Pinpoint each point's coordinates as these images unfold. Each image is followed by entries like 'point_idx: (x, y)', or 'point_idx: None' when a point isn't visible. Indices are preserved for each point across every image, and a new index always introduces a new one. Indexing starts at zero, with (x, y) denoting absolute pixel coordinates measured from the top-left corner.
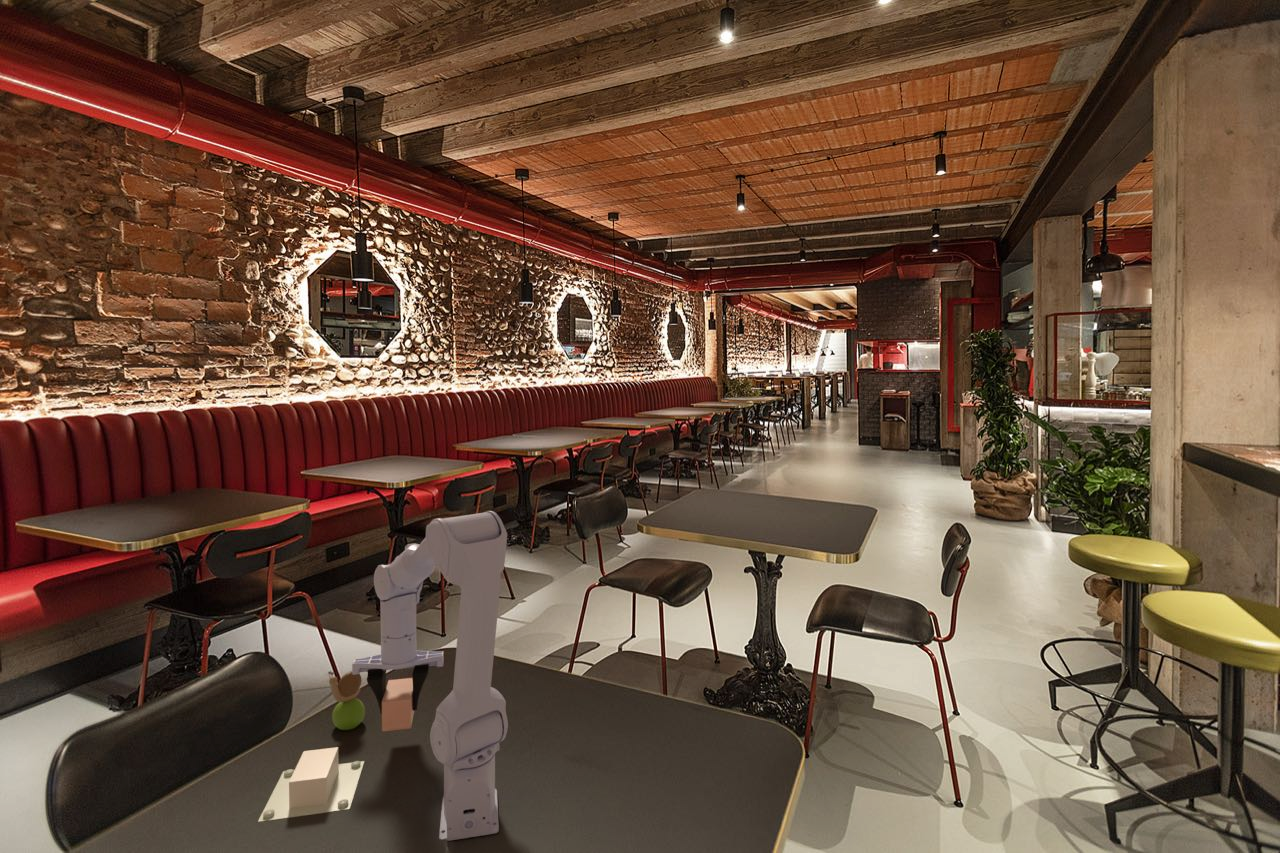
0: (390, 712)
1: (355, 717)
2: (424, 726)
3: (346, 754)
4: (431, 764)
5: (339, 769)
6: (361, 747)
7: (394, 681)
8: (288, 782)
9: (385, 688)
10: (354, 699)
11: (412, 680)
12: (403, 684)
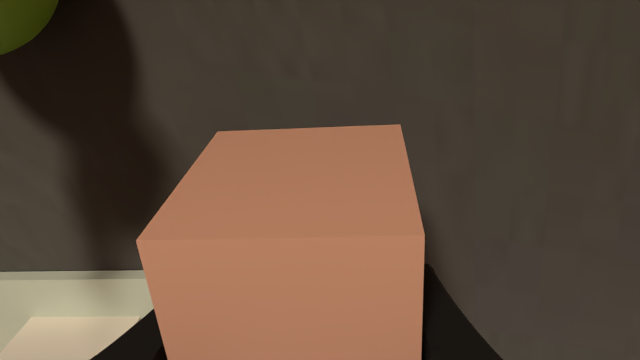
0: None
1: (22, 40)
2: (430, 4)
3: (115, 190)
4: (472, 311)
5: (138, 307)
6: (157, 150)
7: (209, 279)
8: (1, 340)
9: (165, 354)
10: None
11: (398, 290)
12: (318, 353)
